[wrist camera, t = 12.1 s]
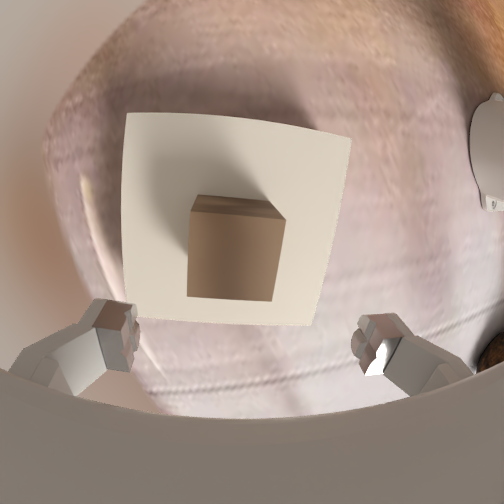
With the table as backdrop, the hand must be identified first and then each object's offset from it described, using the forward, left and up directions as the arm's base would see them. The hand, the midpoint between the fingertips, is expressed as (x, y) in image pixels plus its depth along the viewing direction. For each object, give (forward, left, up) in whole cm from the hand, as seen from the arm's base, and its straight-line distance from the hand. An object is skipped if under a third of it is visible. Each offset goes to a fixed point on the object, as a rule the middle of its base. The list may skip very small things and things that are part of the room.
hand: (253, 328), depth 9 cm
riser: (0, 0, -17) cm, 17 cm away
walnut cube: (0, 0, -11) cm, 11 cm away
